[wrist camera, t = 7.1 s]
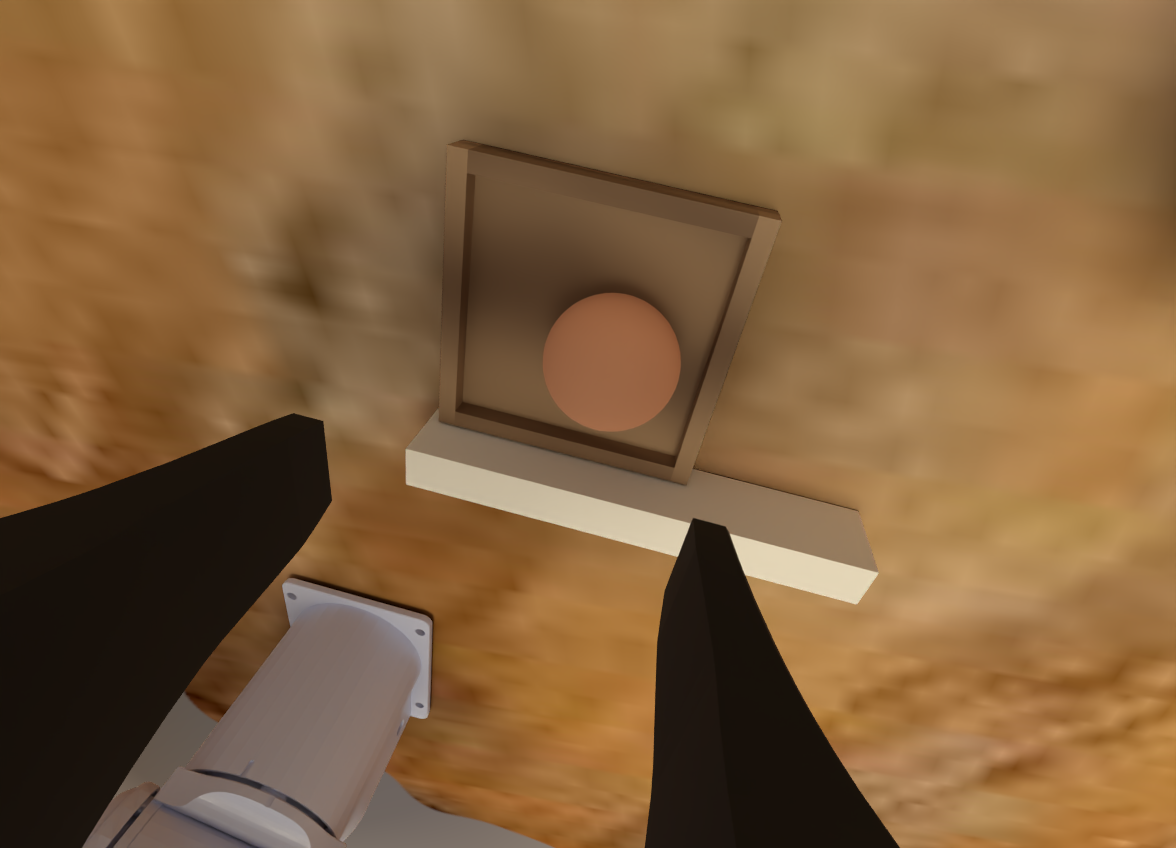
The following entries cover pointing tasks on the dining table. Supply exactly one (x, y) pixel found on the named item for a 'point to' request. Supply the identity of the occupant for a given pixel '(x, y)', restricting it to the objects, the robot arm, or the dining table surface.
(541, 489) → the strip
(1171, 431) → the dining table surface
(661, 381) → the ball
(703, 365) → the tray
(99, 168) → the dining table surface
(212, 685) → the dining table surface
